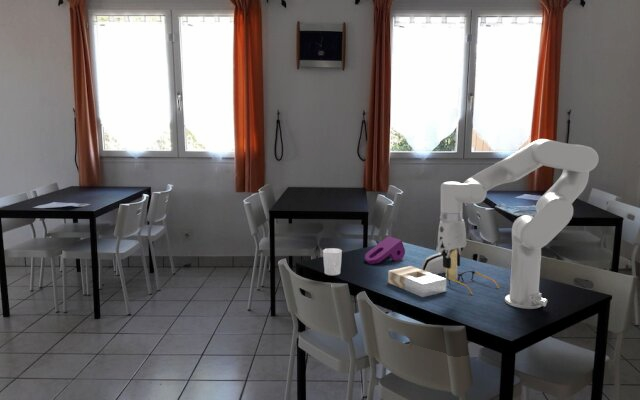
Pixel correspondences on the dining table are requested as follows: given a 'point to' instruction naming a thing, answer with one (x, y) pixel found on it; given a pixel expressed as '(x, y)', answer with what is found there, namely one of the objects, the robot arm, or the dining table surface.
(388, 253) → the mounting bracket
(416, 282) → the gray notched block
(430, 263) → the white black arched block
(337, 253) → the white cup
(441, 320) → the dining table surface
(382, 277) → the dining table surface
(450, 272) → the brass pin
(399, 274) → the notched wooden block
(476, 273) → the eyeglasses
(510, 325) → the dining table surface
